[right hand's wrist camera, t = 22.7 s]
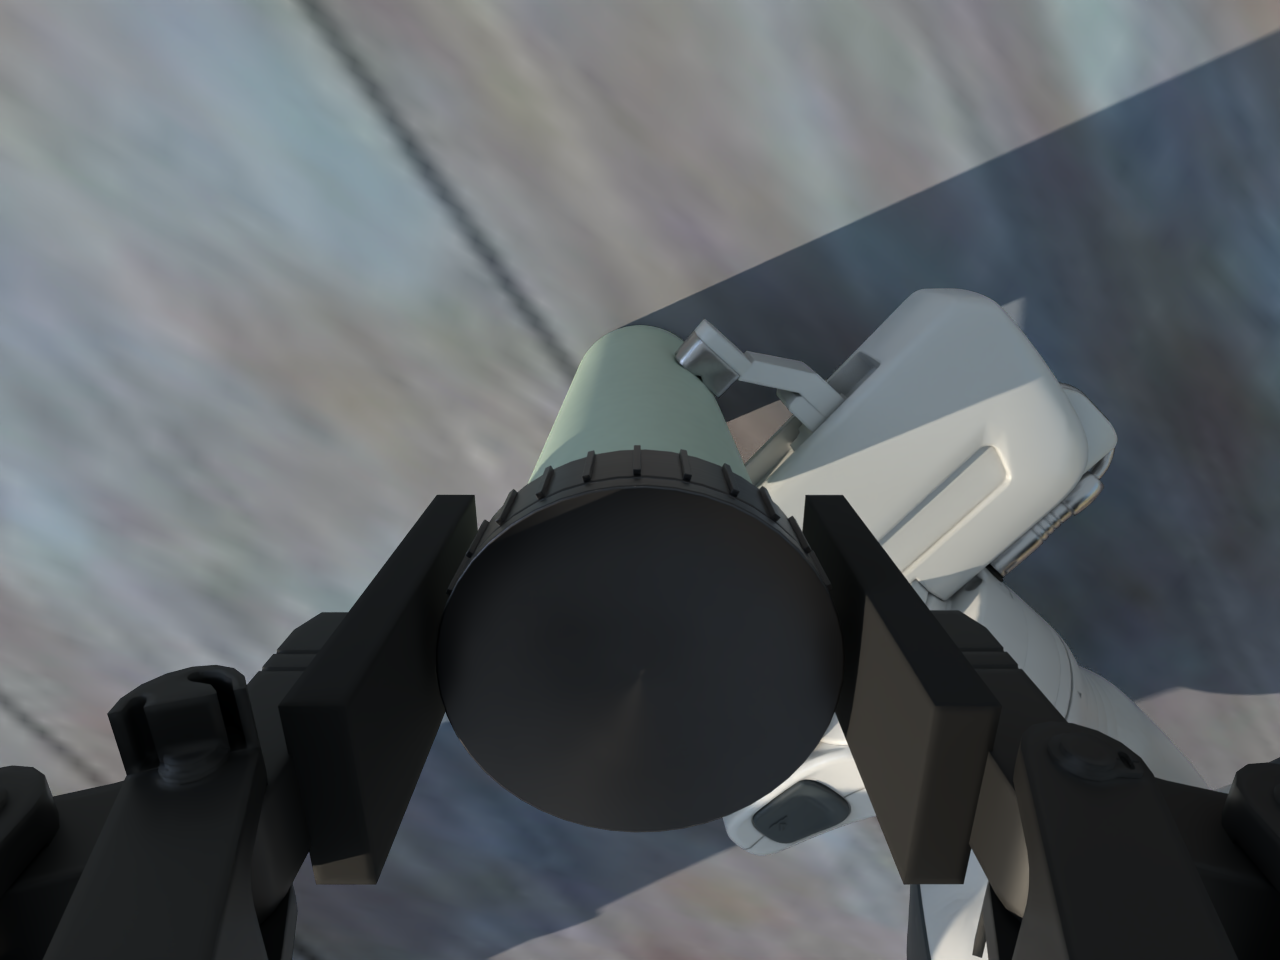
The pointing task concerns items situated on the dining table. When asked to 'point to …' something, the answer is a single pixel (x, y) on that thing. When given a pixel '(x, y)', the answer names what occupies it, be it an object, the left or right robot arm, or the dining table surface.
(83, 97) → the dining table surface
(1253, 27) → the dining table surface
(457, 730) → the lid
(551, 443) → the bottle
